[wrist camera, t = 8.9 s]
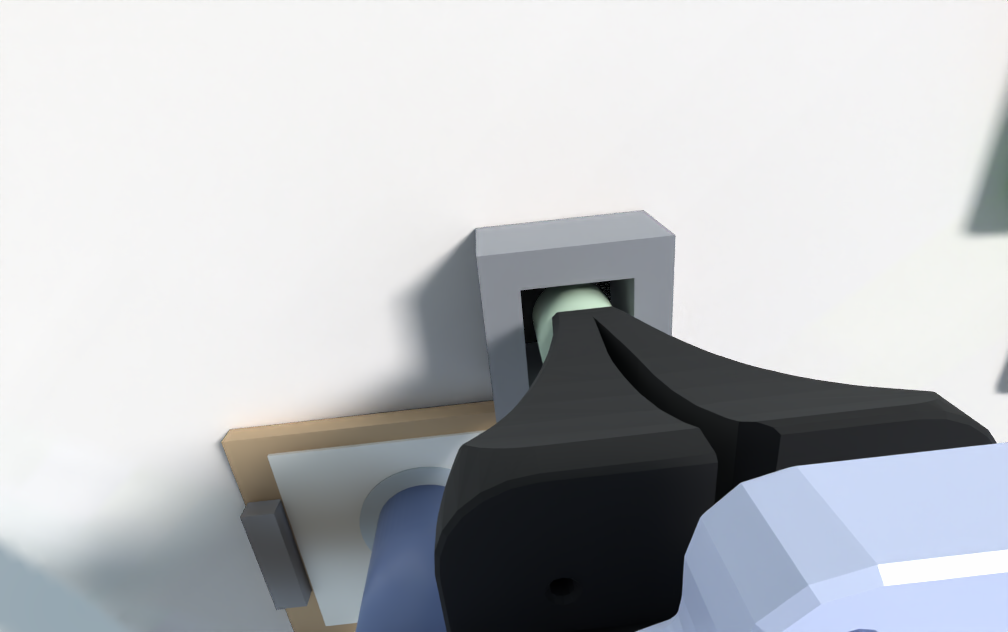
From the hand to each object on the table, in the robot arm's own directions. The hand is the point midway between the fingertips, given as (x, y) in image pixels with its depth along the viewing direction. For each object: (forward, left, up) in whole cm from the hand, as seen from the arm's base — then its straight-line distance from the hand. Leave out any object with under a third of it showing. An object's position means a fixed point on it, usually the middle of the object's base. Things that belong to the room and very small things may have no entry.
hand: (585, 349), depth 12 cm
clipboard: (-7, +6, -3) cm, 10 cm away
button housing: (0, 0, -3) cm, 3 cm away
